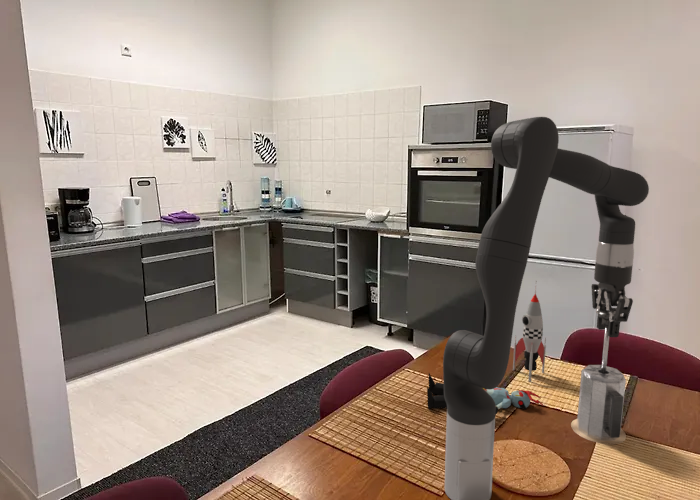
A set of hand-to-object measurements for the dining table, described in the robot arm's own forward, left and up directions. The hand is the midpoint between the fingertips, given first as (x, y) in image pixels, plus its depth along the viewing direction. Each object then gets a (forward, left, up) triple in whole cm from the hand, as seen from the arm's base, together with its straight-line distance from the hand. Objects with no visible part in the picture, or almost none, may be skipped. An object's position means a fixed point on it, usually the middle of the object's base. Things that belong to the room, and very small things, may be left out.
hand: (607, 332), depth 115 cm
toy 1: (+15, +24, -26) cm, 39 cm away
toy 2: (+33, +4, -26) cm, 42 cm away
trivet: (0, 0, -26) cm, 26 cm away
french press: (-1, 0, -25) cm, 25 cm away
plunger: (0, 0, -13) cm, 13 cm away
